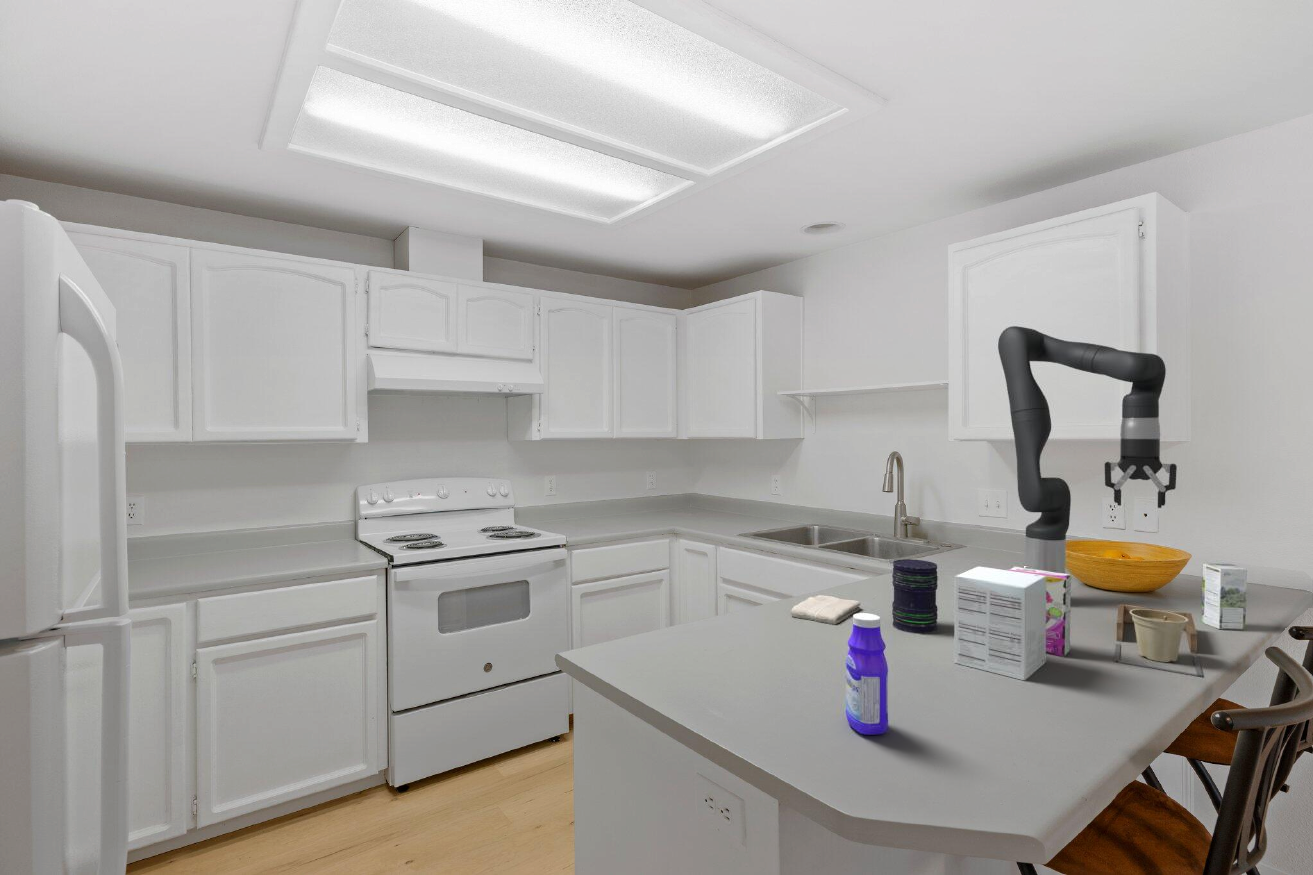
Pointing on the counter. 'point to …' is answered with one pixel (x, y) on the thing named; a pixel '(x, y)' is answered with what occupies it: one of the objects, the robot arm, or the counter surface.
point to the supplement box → (1000, 621)
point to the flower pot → (1158, 633)
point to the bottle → (867, 677)
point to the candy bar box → (1055, 609)
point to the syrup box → (1224, 596)
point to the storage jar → (915, 596)
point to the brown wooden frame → (1189, 627)
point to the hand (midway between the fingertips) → (1139, 506)
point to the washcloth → (825, 609)
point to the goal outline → (1196, 661)
